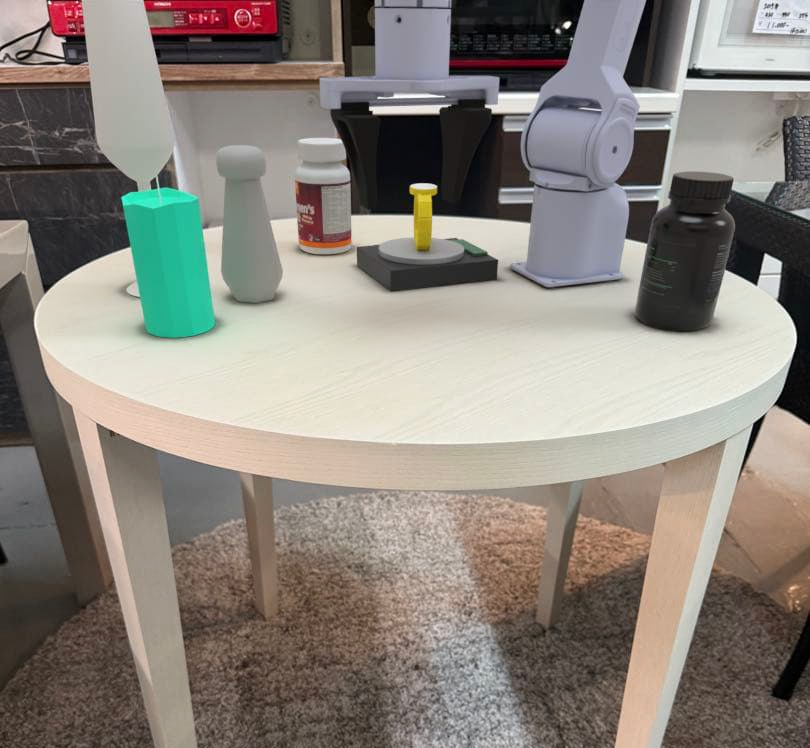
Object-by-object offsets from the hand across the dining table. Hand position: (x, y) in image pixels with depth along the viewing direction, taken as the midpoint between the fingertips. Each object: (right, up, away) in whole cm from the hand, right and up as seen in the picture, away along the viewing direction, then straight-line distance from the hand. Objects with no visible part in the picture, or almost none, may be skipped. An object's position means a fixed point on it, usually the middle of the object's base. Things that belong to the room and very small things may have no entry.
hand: (410, 204), depth 64 cm
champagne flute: (-25, -4, +11) cm, 27 cm away
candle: (-20, -10, +2) cm, 23 cm away
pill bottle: (-10, +5, +24) cm, 27 cm away
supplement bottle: (+24, -9, +5) cm, 26 cm away
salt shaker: (-15, -5, +9) cm, 18 cm away
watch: (+1, +2, +15) cm, 16 cm away
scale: (+2, 0, +17) cm, 17 cm away
